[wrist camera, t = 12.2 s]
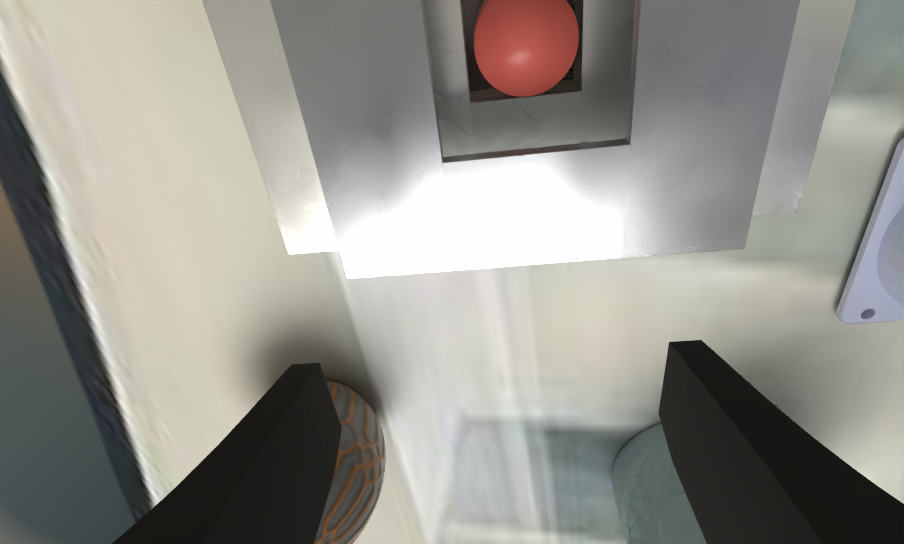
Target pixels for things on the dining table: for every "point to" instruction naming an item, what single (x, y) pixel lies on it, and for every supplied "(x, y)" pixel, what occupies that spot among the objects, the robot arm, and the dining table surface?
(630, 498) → the green cylindrical pot
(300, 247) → the grey fixture board
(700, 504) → the robot arm
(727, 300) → the dining table surface
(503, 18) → the button
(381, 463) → the vase
